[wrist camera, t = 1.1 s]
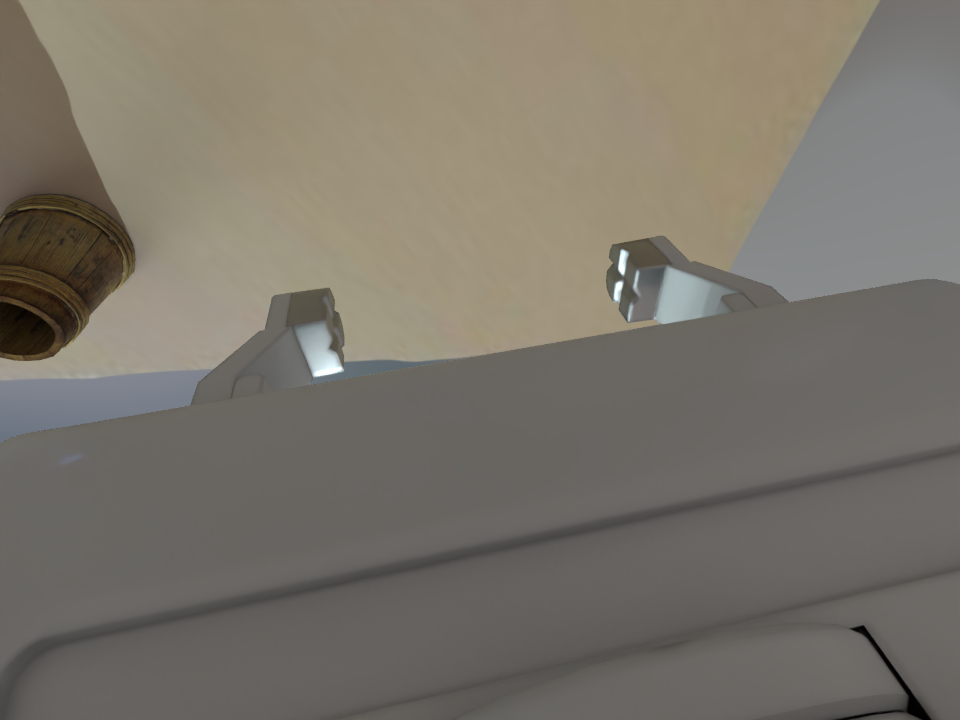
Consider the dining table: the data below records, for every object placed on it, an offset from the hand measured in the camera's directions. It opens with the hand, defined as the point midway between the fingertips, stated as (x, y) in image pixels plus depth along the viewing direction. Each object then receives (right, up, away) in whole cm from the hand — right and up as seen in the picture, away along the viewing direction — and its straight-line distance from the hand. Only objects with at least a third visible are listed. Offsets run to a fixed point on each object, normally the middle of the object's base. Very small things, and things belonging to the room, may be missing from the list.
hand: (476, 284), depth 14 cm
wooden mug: (-36, +8, +26) cm, 46 cm away
